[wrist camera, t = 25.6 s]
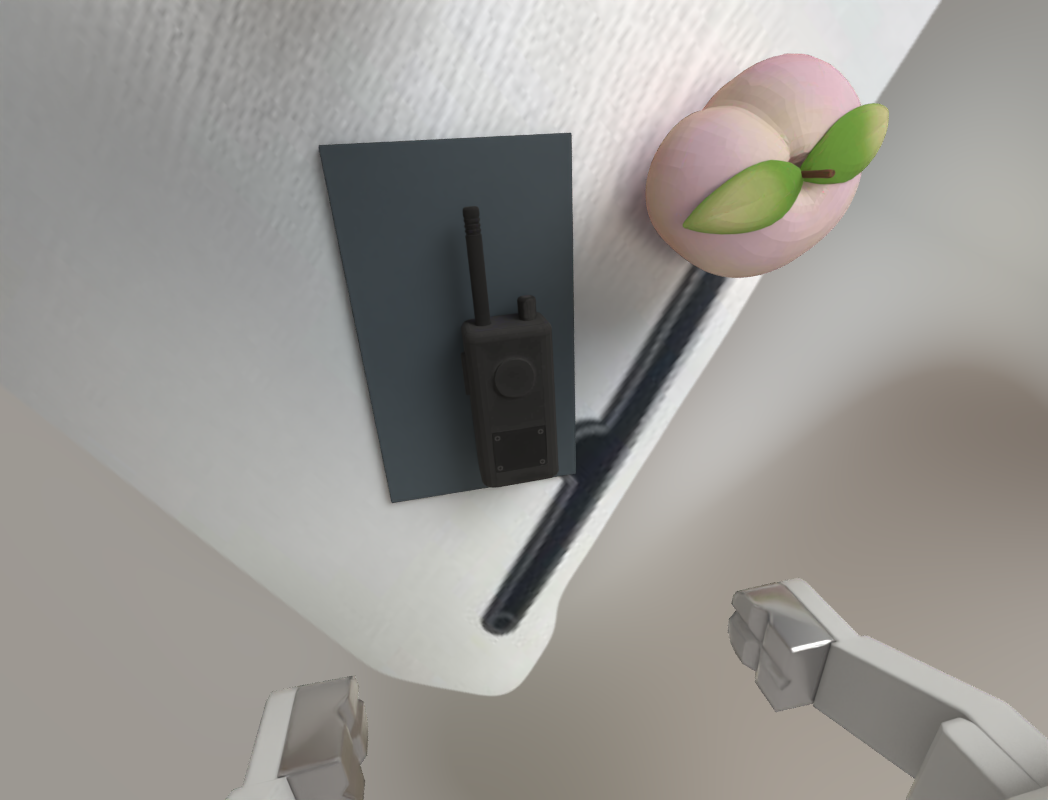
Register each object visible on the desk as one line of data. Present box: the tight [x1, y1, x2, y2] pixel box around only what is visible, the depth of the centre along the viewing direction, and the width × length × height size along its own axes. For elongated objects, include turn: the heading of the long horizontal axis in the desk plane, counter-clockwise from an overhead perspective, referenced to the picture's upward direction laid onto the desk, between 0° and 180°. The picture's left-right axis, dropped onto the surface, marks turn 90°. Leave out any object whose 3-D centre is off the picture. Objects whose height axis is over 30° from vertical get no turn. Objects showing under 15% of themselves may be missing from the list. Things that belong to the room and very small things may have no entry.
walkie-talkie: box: [460, 206, 559, 488], centre depth 27 cm, size 5×3×15 cm
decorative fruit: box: [645, 54, 889, 278], centre depth 23 cm, size 9×8×10 cm
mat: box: [319, 133, 576, 503], centre depth 28 cm, size 20×12×1 cm, turn 3°
